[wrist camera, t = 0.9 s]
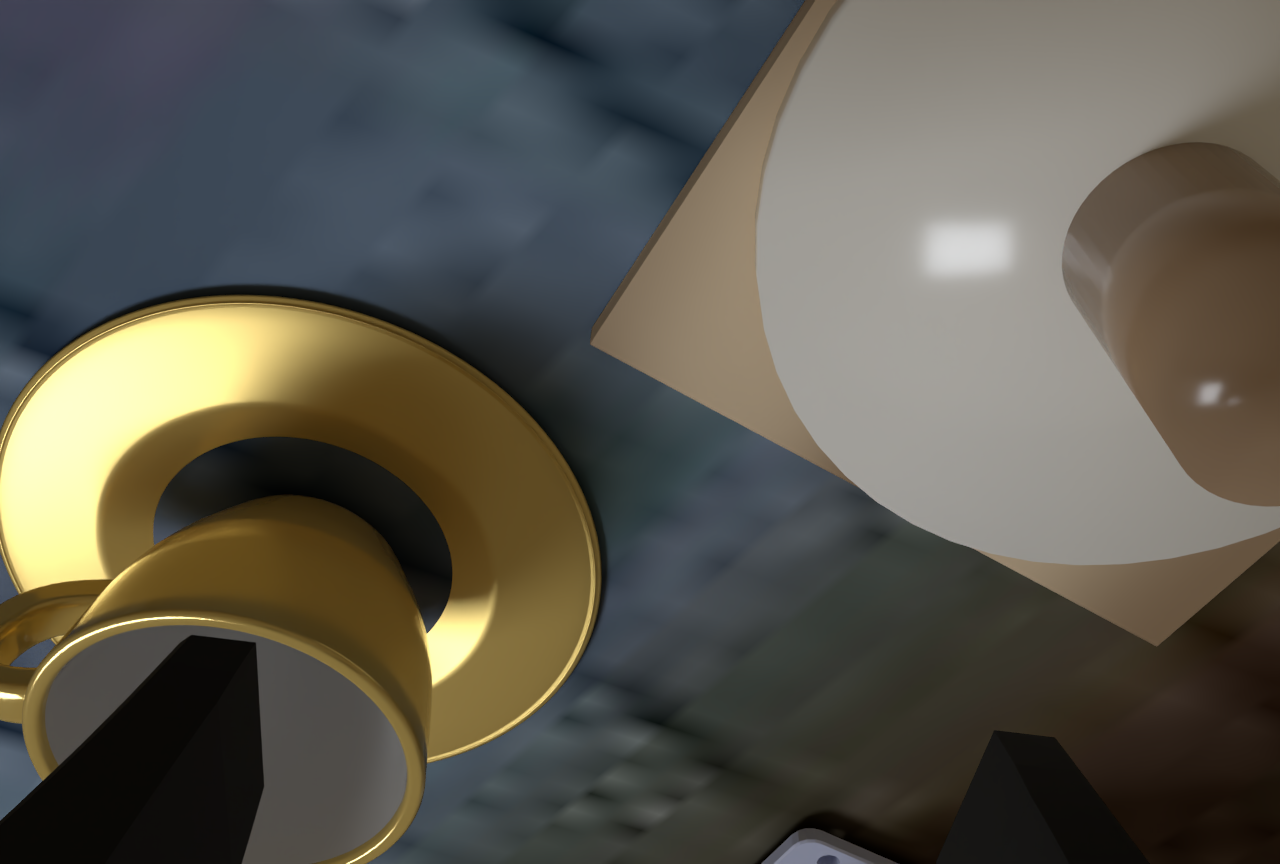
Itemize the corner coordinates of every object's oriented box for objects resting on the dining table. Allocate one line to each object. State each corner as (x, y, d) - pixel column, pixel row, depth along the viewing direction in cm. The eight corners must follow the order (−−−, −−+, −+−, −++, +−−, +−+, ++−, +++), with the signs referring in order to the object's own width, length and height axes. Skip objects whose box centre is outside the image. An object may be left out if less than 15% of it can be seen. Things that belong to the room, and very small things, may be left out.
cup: (635, 326, 20) (624, 510, 16) (575, 780, 27) (555, 1003, 22) (-58, 245, 20) (-277, 410, 15) (53, 728, 26) (-78, 946, 22)
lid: (1779, 91, 17) (2182, 235, 12) (1155, 632, 23) (1274, 862, 18) (1143, -462, 13) (1377, -542, 9) (609, 338, 19) (591, 530, 15)
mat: (1775, 75, 17) (1808, 86, 17) (1146, 625, 23) (1156, 646, 23) (1126, -493, 14) (1143, -500, 13) (592, 328, 20) (589, 344, 19)
